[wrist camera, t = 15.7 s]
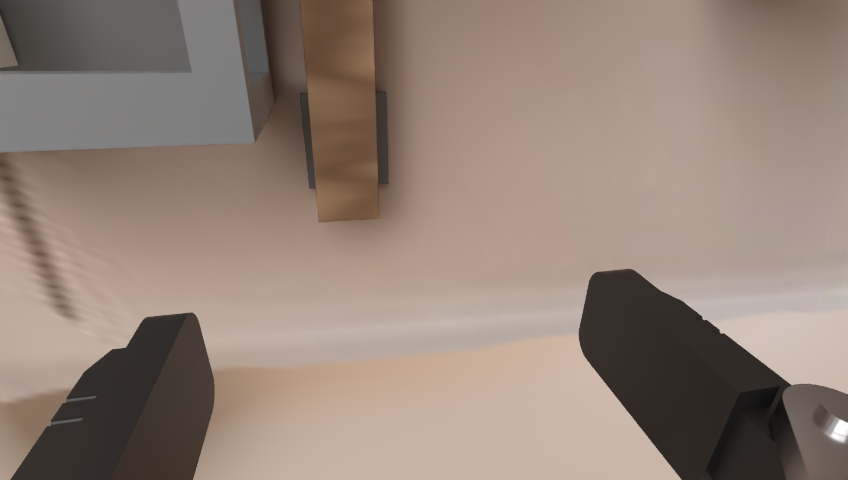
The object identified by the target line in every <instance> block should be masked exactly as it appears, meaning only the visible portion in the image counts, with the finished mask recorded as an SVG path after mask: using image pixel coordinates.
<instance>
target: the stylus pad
mask: <svg viewBox="0 0 848 480" xmlns="http://www.w3.org/2000/svg"><path fill="white" fill-rule="evenodd" d="M375 97H376V132H377V166H378V184H388V148H387V103H386V92H375ZM300 102H301V111H302V121H303V130H304V140H305V149H306V159H307V169H308V178H309V188H316V183H315V172H314V160H313V148H312V137H311V125H310V113H309V102H308V93H300Z"/></svg>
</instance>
